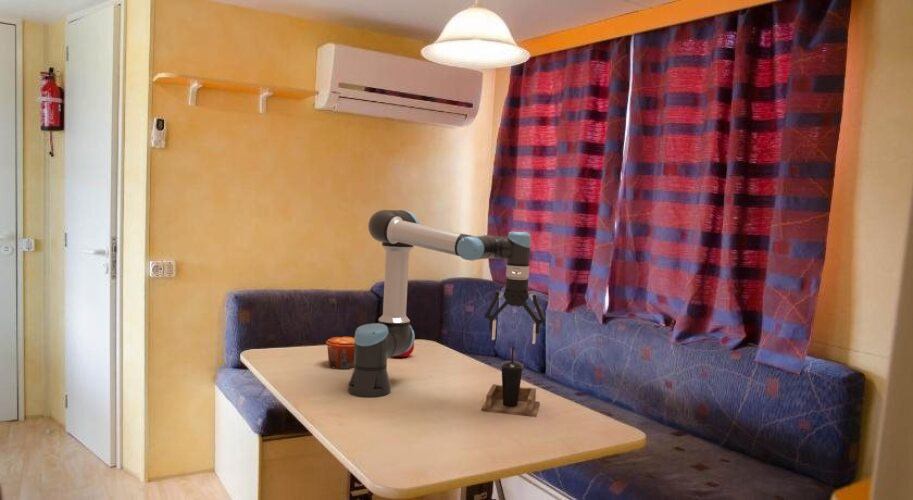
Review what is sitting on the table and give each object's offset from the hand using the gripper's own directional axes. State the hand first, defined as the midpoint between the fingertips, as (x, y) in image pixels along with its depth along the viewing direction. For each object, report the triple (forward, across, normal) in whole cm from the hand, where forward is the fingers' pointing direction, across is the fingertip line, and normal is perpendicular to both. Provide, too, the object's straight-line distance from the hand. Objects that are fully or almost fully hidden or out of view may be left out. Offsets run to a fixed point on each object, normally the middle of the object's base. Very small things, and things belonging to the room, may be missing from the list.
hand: (513, 341), depth 218 cm
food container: (+24, -72, +34) cm, 83 cm away
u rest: (+23, 0, 0) cm, 23 cm away
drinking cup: (+22, 0, 0) cm, 22 cm away
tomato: (+24, -57, +58) cm, 85 cm away
